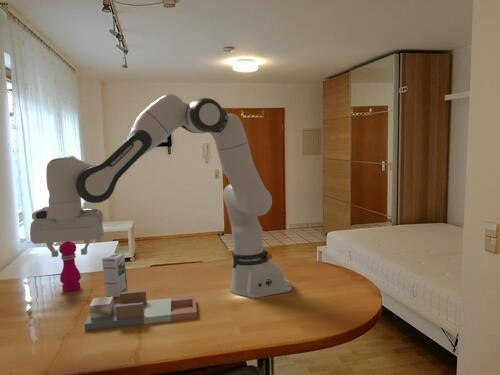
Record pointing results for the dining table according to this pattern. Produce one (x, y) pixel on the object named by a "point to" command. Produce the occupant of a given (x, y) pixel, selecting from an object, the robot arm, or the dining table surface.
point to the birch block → (101, 307)
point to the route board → (143, 311)
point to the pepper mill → (69, 267)
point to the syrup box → (114, 274)
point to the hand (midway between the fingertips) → (69, 255)
